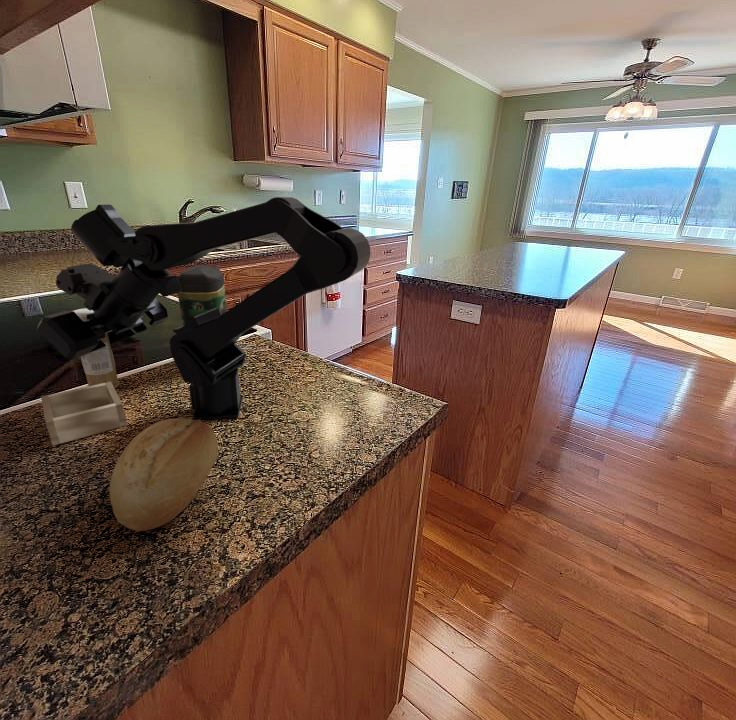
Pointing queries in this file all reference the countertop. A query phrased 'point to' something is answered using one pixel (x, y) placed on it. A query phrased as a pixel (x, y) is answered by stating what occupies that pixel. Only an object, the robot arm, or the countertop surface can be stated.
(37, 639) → the countertop surface
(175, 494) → the bread roll
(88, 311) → the sprinkles bottle
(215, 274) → the coffee jar
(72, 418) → the guard collar
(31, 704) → the countertop surface
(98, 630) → the countertop surface
